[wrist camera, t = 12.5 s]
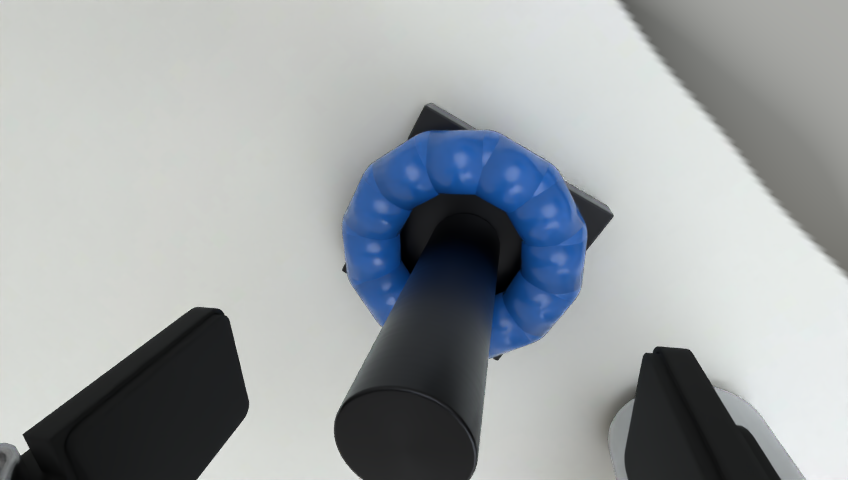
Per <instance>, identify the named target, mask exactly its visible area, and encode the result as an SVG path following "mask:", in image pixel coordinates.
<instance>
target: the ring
mask: <svg viewBox="0 0 848 480" xmlns="http://www.w3.org/2000/svg"><path fill="white" fill-rule="evenodd" d="M439 194H456V195H476V196H478V197H480V198H481V199H483V200H485V201H486V202H488V203H490V204H492V205H493V206H495V207H497V208H498V209H500V210H502V211H504V212H505V213H506V214H507V216H508V217H509V219H510V221H511V223H512V224H513V226H514V228H515V230H516V231H517V233H518V235H519V237H520V238H521V240H522V247H521V266H520V270H519V272H518V273H517V274H516V276H515V277H514V278H513V280H512V281H511V282H510V284H509V285H508V286H507V288H506V289H505V291H504V292H501V293H499V294H497V295H495V301H494V311H493V320H492V329H491V339H490V348H489V358H488V359H490V358H493V357H496V356H498V355H501V354H504V353H507V352H509V351H512V350H515V349H517V348H520V347H523V346H526V345H528V344H531V343H534V342H536V341H538V340H540V339H541V338H542V337H544V336H545V335H546V334H547V332H548V331H549V330H550V329H551V328H552V326H553V325H554V324H555V323H556V322H557V321H558V319H559V318H560V317H561V316H562V315H563V313H564V312H565V311H566V310H567V309H568V307H569V306H570V305H571V304H572V303H573V302H574V300H575V299H576V298H577V296H578V295H579V292H580V290H581V286H582V279H583V271H584V262H585V253H586V244H587V234H588V233H587V226H586V223H585V220H584V218H583V216H582V214H581V212H580V211H579V209H578V207H577V205H576V203H575V201H574V199H573V197H572V195H571V193H570V191H569V189H568V188H567V186H566V184H565V182H564V180H563V178H562V176H561V174H560V173H559V171H558V170H557V168H556V167H555V166H554V165H552V164H551V163H550V162H548V161H547V160H545V159H543V158H542V157H540V156H538V155H537V154H535V153H533V152H531V151H530V150H528V149H526V148H525V147H523V146H521V145H519V144H518V143H516V142H514V141H513V140H511V139H509V138H507V137H506V136H504V135H502V134H500V133H498V132H496V131H492V130H432V131H425V132H421V133H419V134H417V135H415V136H414V137H412V138H411V139H409V140H408V141H406V142H404V143H403V144H401V145H400V146H398V147H396V148H395V149H393V150H392V151H390V152H388V153H387V154H385V155H384V156H382V157H380V158H379V159H377V160H376V161H374V162H373V163H371V164H370V165H369V167H368V168H367V169H366V170H365V172H364V174H363V176H362V178H361V180H360V182H359V185H358V187H357V189H356V191H355V193H354V195H353V197H352V199H351V202H350V204H349V206H348V208H347V210H346V212H345V214H344V217H343V221H342V234H343V243H344V252H345V260H346V269H347V276H348V279H349V281H350V283H351V285H352V286H353V288H354V289H355V291H356V292H357V294H358V295H359V296H360V298H361V299H362V301H363V302H364V304H365V305H366V307H367V308H368V309H369V311H370V312H371V314H372V315H373V317H374V318H375V320H376V321H377V322H378V323H379V325H380V326H382V327H383V325H384V323H385V322H386V320H387V318H388V316H389V314H390V312H391V310H392V308H393V306H394V305H395V303H396V301H397V299H398V297H399V295H400V293H401V291H402V289H403V288H404V286H405V284H406V282H407V280H408V278H409V276H410V273H409V271H408V270H407V268H406V267H405V265H404V263H403V262H402V260H401V244H400V232H401V230H402V228H403V226H404V224H405V223H406V221H407V219H408V217H409V215H410V214H411V212H412V210H413V209H414V208H416V207H418V206H419V205H421V204H423V203H425V202H427V201H429V200H430V199H432V198H434V197H436V196H438V195H439Z"/></svg>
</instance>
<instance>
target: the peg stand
mask: <svg viewBox="0 0 848 480" xmlns="http://www.w3.org/2000/svg"><path fill="white" fill-rule="evenodd" d="M432 130H477V129H475V128H474V127H472V126H470V125H468V124H467V123H465V122H463V121H462V120H460V119H458V118H457V117H455V116H453V115H451V114H450V113H448V112H446V111H445V110H443V109H441V108H439V107H438V106H436V105H434V104H433V103H430V104H427V105H425V106H424V108H423V110H422V112H421V114H420V116H419V118H418V120H417V122H416V124H415V126H414V128H413V130H412V132H411V134H410V136H409V138H408V140H409V139H411V138H412V137H414V136H415V135H417V134H419V133H421V132H425V131H432ZM408 140H407V141H408ZM564 182H565V184H566V186H567V188H568V189H569V191H570V193H571V195H572V197H573V199H574V201H575V203H576V205H577V207H578V209H579V211H580V212H581V214H582V216H583V218H584V220H585V223H586V226H587V233H588V234H587V244H586V250H587V249H588V248H589V247H590V245H591V244H592V243H593V242H594V240H595V239H596V238H597V237H598V235H599V234H600V233H601V232H602V230H603V229H604V228H605V227H606V225H607V224H608V223H609V222H610V220H611V219H612V218H613V216H614V215H613V214H612V212H611V211H610V209H609V208H608V206H607V205H605V204H603V203H602V202H600V201H598V200H596V199H595V198H593V197H591V196H590V195H588V194H586V193H584V192H583V191H581V190H579V189H578V188H576V187H574V186H573V185H571V184H569V183H567V182H566V181H564ZM400 244H401V260H402V262H403V263H404V265H405V267H406V268H407V270H408V271H409V273H410V276H409V278H408V280H407V282H406V284H405V286H404V288H403V289H402V291H401V293H400V295H399V297H398V299H397V301H396V303H395V305H394V306H393V308H392V310H391V312H390V314H389V316H388V318H387V320H386V322H385V323H384V325H383V327H382V329H381V331H380V333H379V335H378V337H377V339H376V340H375V342H374V344H373V346H372V348H371V350H370V352H369V354H368V356H367V357H366V359H365V361H364V363H363V365H362V367H361V369H360V371H359V372H358V374H357V376H356V378H355V380H354V382H353V384H352V386H351V388H350V389H349V391H348V393H347V395H346V397H345V399H344V401H343V403H342V405H341V406H340V408H339V410H338V412H337V415H336V418H335V423H334V437H335V441H336V445H337V448H338V450H339V452H340V454H341V456H342V458H343V459H344V461H345V462H346V464H347V465H348V466H349V467H350V468H351V470H352V471H353V472H354V473H355V474H356V475H358V476H359V477H360V478H361V479H362V480H470V478H471V477H472V475H473V473H474V471H475V469H476V466H477V461H478V451H479V442H480V433H481V423H482V414H483V404H484V395H485V386H486V376H487V367H488V358H489V348H490V339H491V329H492V320H493V311H494V301H495V295H497V294H499V293H501V292H504V291H505V289H506V288H507V286H508V285H509V284H510V282H511V281H512V280H513V278H514V277H515V276H516V274H517V273H518V272H519V270H520V266H521V247H522V240H521V238H520V237H519V235H518V233H517V231H516V230H515V228H514V226H513V224H512V223H511V221H510V219H509V217H508V216H507V214H506V213H505V212H504V211H502V210H500V209H498V208H497V207H495V206H493V205H492V204H490V203H488V202H486V201H485V200H483V199H481V198H480V197H478V196H476V195H456V194H439V195H438V196H436V197H434V198H432V199H430V200H429V201H427V202H425V203H423V204H421V205H419V206H418V207H416V208H414V209H413V210H412V212H411V214H410V215H409V217H408V219H407V221H406V223H405V224H404V226H403V228H402V230H401V232H400ZM342 271H344V272H345V273H347V269H346V263H345V265H344V267H343V269H342ZM502 355H503V354H501V355H498V356H496V357H493V359H495V360H499V358H500V357H501V356H502Z"/></svg>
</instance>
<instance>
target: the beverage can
mask: <svg viewBox="0 0 848 480" xmlns="http://www.w3.org/2000/svg"><path fill="white" fill-rule="evenodd" d="M713 388H714V389H715V391H716V392H717V394H718V396H719V397H720V399H721V401H722V402H723V404H724V406H725V407H726V409H727V411H728V412H729V414H730V415H731V417H732V419H733V420H734V422H735V424H736V425H741V426H743V427H745V428H746V429H748V430H749V431H750V433H751V434H752V435H753V436H754V438H755V439H756V441H757V442H758V444H759V446H760V447H761V449H762V450H763V452H764V453H765V455H766V457H767V458H768V460H769V461H770V463H771V464H772V466H773V467H774V469H775V471H776V472H777V474H778V475H779V477H780V478H781V480H806V479H805V478H804V476H803V475H802V473H801V472H800V470H799V469H798V468H797V466H796V465H795V463H794V462H793V460H792V459H791V458H790V456H789V455H788V453H787V452H786V450H785V449H784V448H783V446H782V445H781V443H780V442H779V440H778V439H777V438H776V436H775V435H774V433H773V432H772V430H771V429H770V428H769V426H768V425H767V423H766V422H765V420H764V419H763V418H762V416H761V415H760V414H759V413H758V411H757V410H756V409H755V408H754V407H753V406H751V405H750V404H749V403H748V402H746V401H745V400H743V399H742V398H740V397H738V396H737V395H735V394H733V393H730V392H728V391H726V390H723V389H719V388H716V387H713ZM634 400H635V398H634V399H632V400H631V401H629V402H628V403H627V404H626V405H624V406H623V407H622V408H621V409H620V410H619V412H618V413H617V414H616V416H615V417H614V419H613V421H612V423H611V426H610V429H609V434H608V446H609V451H610V455H611V459H612V463H613V467H614V471H615V476H616V480H628V478H627V475H626V470H625V463H624V454H625V447H626V442H627V437H628V432H629V426H630V421H631V416H632V411H633V405H634Z"/></svg>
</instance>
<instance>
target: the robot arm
mask: <svg viewBox="0 0 848 480" xmlns="http://www.w3.org/2000/svg"><path fill="white" fill-rule="evenodd" d="M248 409H249V400H248V396H247V391H246V387H245V383H244V379H243V375H242V371H241V366H240V362H239V358H238V354H237V350H236V346H235V341H234V337H233V333H232V329H231V325H230V321H229V318H228V317H227V316H225V315H224V313H223V312H222V310H220V309H216V308H204V307H195V308H193V309H191V310H190V311H188V312H187V313H185V314H184V315H183V316H181V317H180V318H179V319H177V320H176V321H175V322H173V323H172V324H171V325H169V326H168V327H167V328H165V329H164V330H163V331H161V332H160V333H159V334H157V335H156V336H155V337H153V338H152V339H150V340H149V341H148V342H146V343H145V344H144V345H142V346H141V347H140V348H138V349H137V350H136V351H134V352H133V353H132V354H130V355H129V356H128V357H126V358H125V359H124V360H122V361H121V362H120V363H118V364H117V365H115V366H114V367H113V368H111V369H110V370H109V371H107V372H106V373H105V374H103V375H102V376H101V377H99V378H98V379H97V380H95V381H94V382H93V383H91V384H90V385H89V386H87V387H86V388H85V389H83V390H82V391H80V392H79V393H78V394H76V395H75V396H74V397H72V398H71V399H70V400H68V401H67V402H66V403H64V404H63V405H62V406H60V407H59V408H58V409H56V410H55V411H54V412H52V413H51V414H49V415H48V416H47V417H45V418H44V419H43V420H41V421H40V422H39V423H37V424H36V425H35V426H33V427H32V428H31V429H29V430H28V431H27V432H25V433H24V434H23V436H24V438H25V440H26V442H27V444H28V446H29V448H30V449H29V450H28V451H26V452H25V453H24V454H23V455H20V454H19V452H18V450H17V449H16V447H15V446H14V445H11V444H8V443H0V480H197V479H198V477H199V476H200V475H201V473H202V472H203V471H204V470H205V468H206V467H207V466H208V464H209V463H210V462H211V461H212V459H213V458H214V457H215V455H216V454H217V453H218V452H219V450H220V449H221V448H222V446H223V445H224V444H225V443H226V441H227V440H228V439H229V437H230V436H231V435H232V434H233V432H234V431H235V430H236V428H237V427H238V426H239V425H240V423H241V422H242V421H243V419H244V418H245V416H246V414H247V412H248ZM624 463H625V470H626V475H627V478H628V480H781V478H780V477H779V475H778V474H777V472H776V471H775V469H774V467H773V466H772V464H771V463H770V461H769V460H768V458H767V457H766V455H765V453H764V452H763V450H762V449H761V447H760V446H759V444H758V442H757V441H756V439H755V438H754V436H753V435H752V434H751V433H750V431H749V430H748V429H746V428H745V427H743V426H741V425H736V424H735V422H734V420H733V419H732V417H731V415H730V414H729V412H728V411H727V409H726V407H725V406H724V404H723V402H722V401H721V399H720V397H719V396H718V394H717V392H716V391H715V389H714V388H713V386H712V384H711V383H710V381H709V379H708V378H707V376H706V374H705V373H704V371H703V370H702V368H701V366H700V365H699V363H698V361H697V360H696V358H695V356H694V355H693V353H692V352H691V351H690V350H688V349H682V348H670V347H658V346H657V347H655V349H654V350H653V353H645V354H644V356H643V359H642V364H641V369H640V374H639V379H638V385H637V390H636V395H635V400H634V405H633V411H632V416H631V421H630V426H629V432H628V437H627V442H626V447H625V454H624Z"/></svg>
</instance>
